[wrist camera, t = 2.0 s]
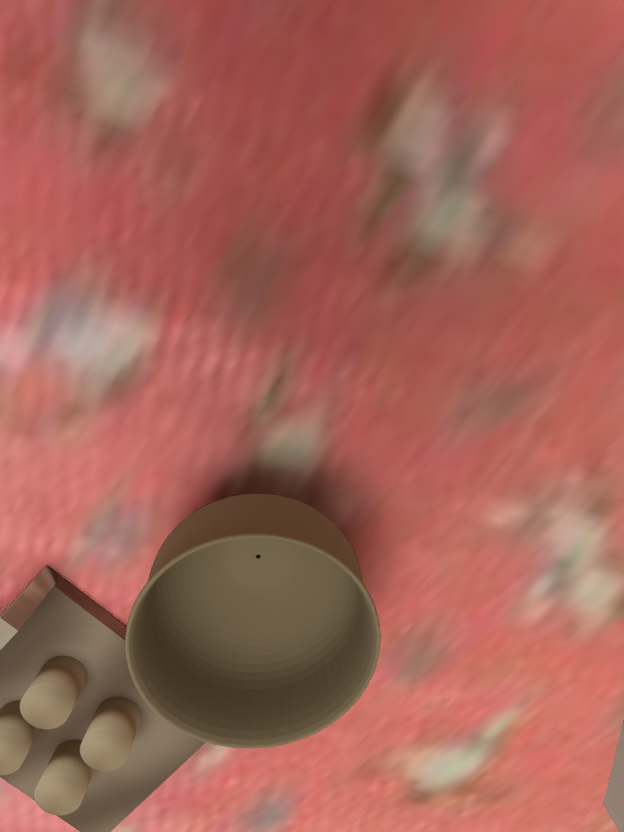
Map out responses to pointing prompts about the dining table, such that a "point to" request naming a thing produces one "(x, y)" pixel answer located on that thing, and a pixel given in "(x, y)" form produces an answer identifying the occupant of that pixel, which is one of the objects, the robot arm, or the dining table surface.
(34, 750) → the peg stand
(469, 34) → the dining table surface
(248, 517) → the bowl
